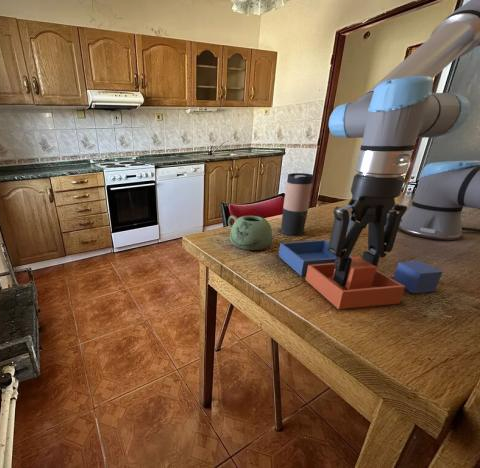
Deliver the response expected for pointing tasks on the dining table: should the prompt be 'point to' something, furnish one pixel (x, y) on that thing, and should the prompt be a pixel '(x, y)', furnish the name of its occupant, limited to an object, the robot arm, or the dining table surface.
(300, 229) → the travel mug
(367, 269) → the terracotta block
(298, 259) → the blue bin
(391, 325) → the dining table surface
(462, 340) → the dining table surface
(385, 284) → the terracotta bin
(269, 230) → the mug
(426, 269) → the blue block
